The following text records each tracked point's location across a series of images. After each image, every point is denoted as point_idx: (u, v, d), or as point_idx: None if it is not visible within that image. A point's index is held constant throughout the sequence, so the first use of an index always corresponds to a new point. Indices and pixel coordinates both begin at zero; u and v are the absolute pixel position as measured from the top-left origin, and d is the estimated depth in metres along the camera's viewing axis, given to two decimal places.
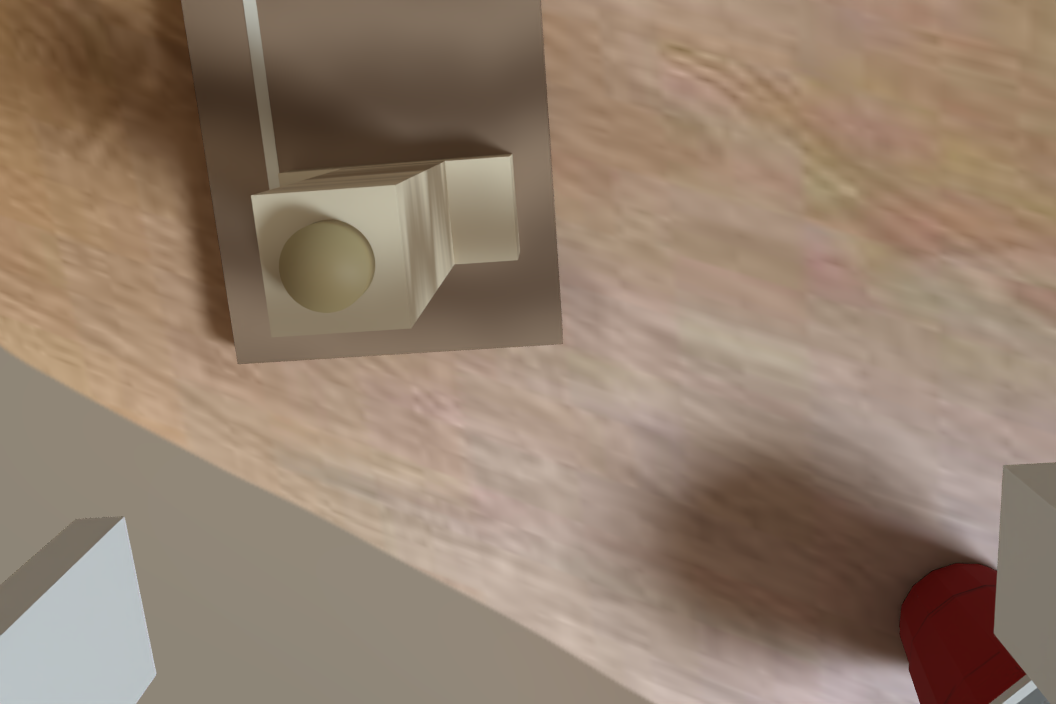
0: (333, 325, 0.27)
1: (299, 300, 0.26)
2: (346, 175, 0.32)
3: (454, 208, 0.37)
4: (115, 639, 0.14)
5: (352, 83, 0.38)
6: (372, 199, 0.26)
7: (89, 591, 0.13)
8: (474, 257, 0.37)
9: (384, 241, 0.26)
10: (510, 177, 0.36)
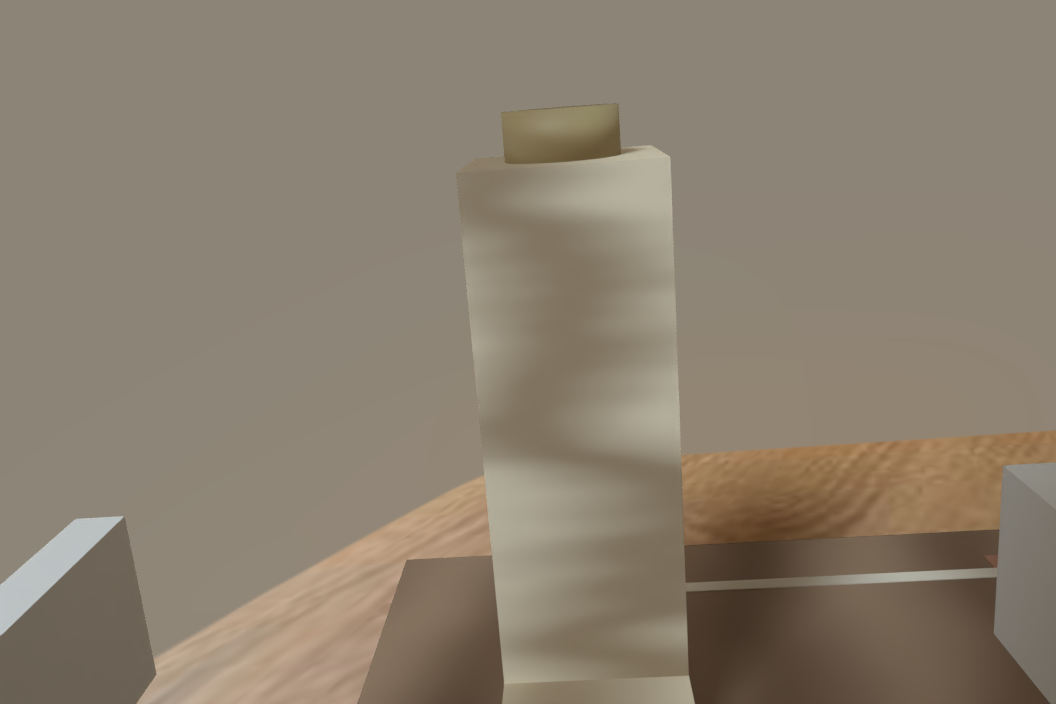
0: (478, 163, 0.20)
1: (521, 111, 0.20)
2: None
3: (604, 684, 0.20)
4: (115, 639, 0.14)
5: (798, 655, 0.24)
6: (648, 156, 0.18)
7: (90, 591, 0.13)
8: None
9: (588, 161, 0.18)
10: None
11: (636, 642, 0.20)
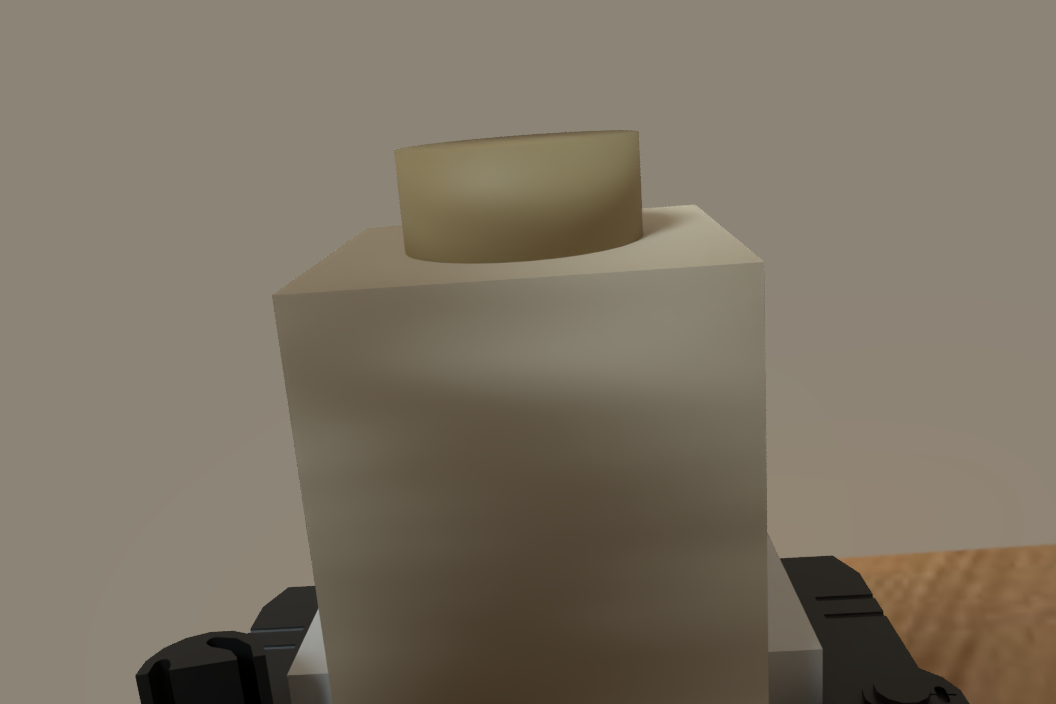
0: (355, 250, 0.10)
1: (444, 144, 0.10)
2: None
3: None
4: None
5: None
6: (708, 251, 0.08)
7: None
8: None
9: (574, 264, 0.08)
10: None
11: None
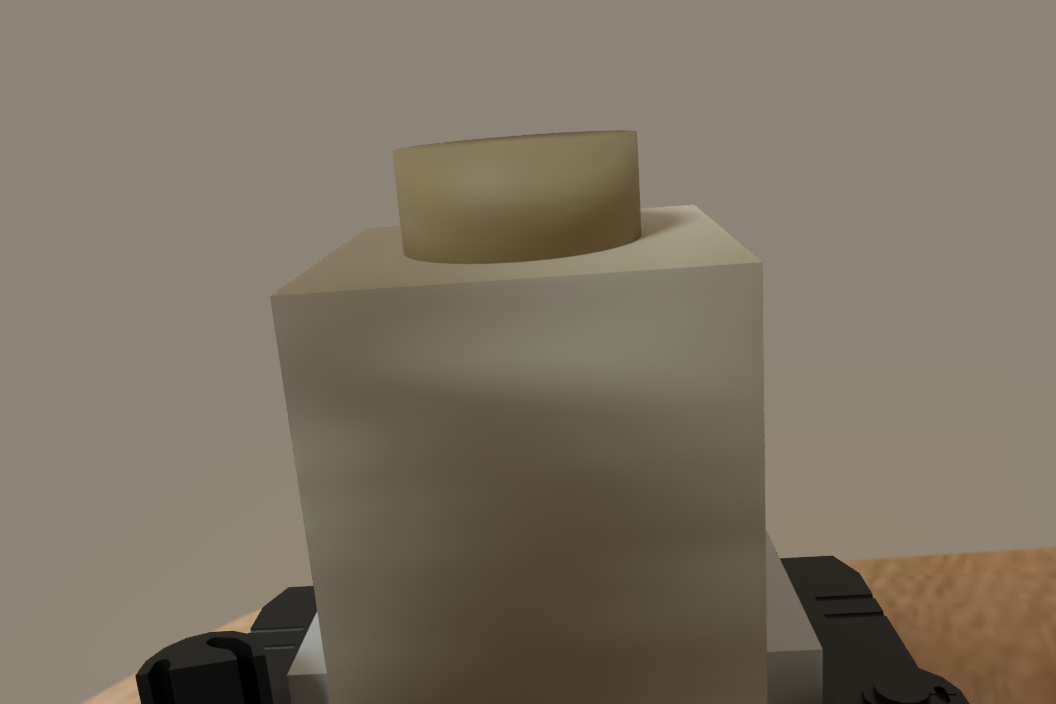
0: (353, 251, 0.10)
1: (442, 144, 0.10)
2: None
3: None
4: None
5: None
6: (706, 251, 0.08)
7: None
8: None
9: (572, 264, 0.08)
10: None
11: None
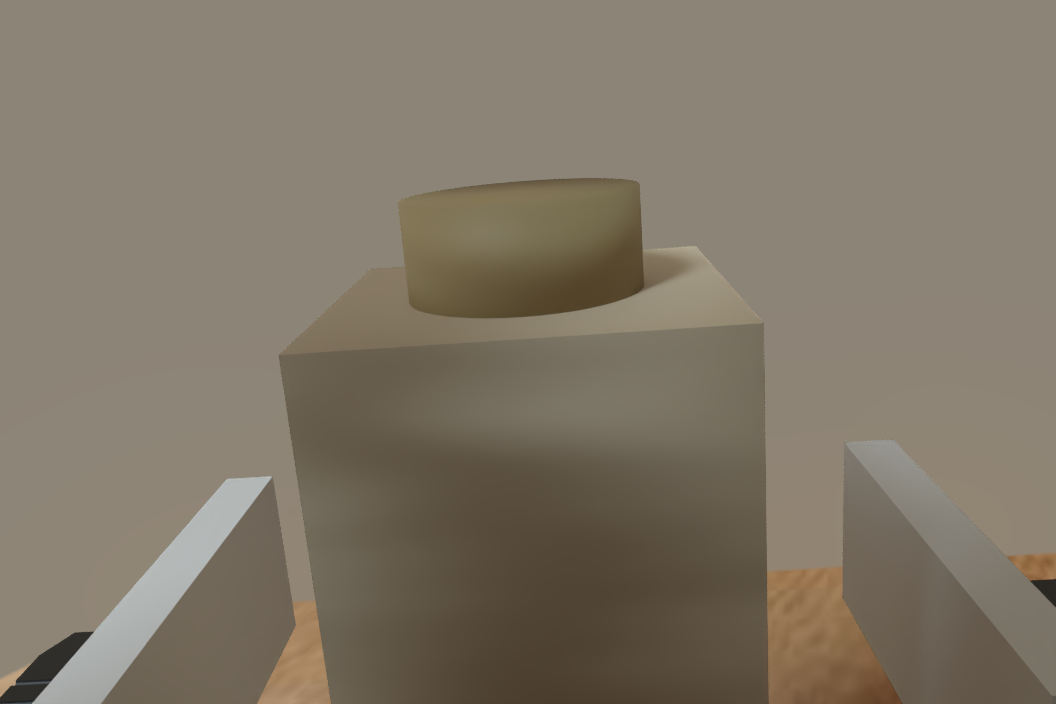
0: (359, 298, 0.10)
1: (447, 191, 0.10)
2: None
3: None
4: (269, 588, 0.15)
5: None
6: (708, 307, 0.08)
7: (252, 542, 0.14)
8: None
9: (576, 322, 0.08)
10: None
11: None
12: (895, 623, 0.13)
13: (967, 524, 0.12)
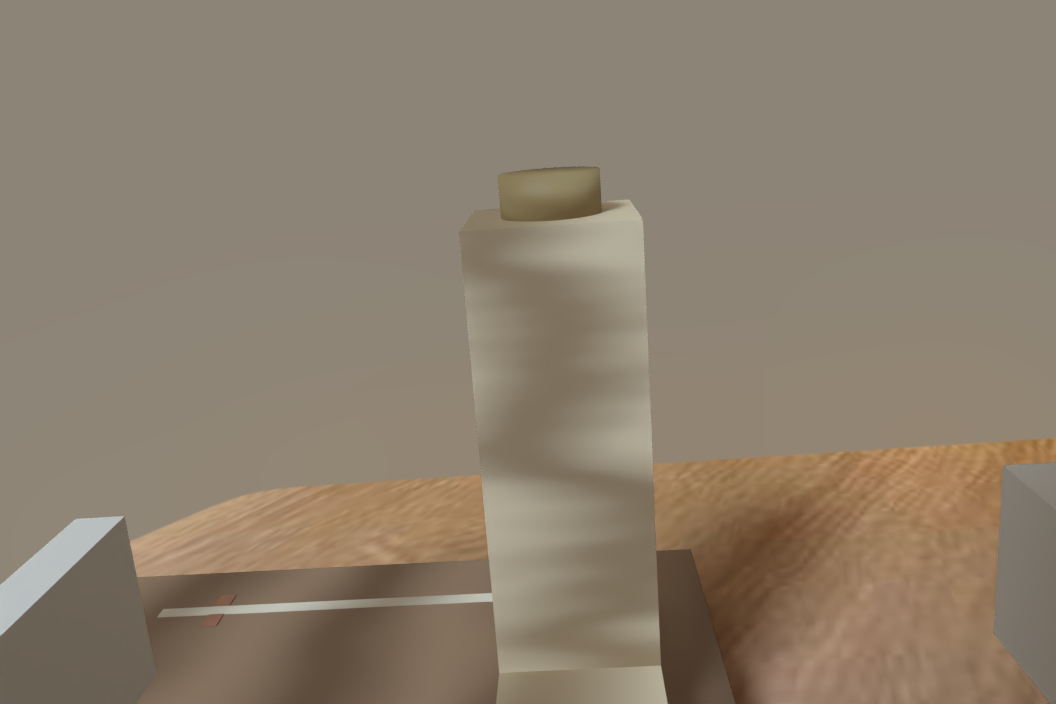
0: (477, 218, 0.23)
1: (515, 172, 0.23)
2: None
3: (587, 673, 0.23)
4: (115, 639, 0.14)
5: (349, 667, 0.28)
6: (624, 216, 0.21)
7: (89, 591, 0.13)
8: (506, 691, 0.23)
9: (572, 220, 0.21)
10: None
11: (614, 636, 0.23)
12: None
13: None
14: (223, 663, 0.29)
